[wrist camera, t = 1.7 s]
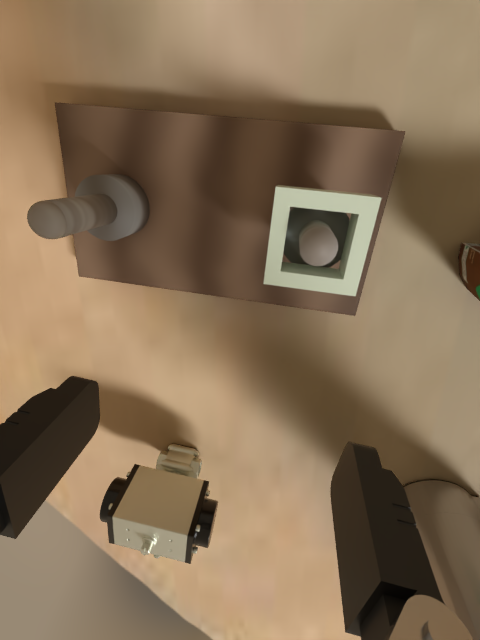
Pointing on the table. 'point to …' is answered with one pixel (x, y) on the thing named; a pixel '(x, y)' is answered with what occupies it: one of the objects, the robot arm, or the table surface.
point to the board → (208, 198)
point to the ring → (354, 246)
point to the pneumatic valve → (161, 507)
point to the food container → (470, 267)
